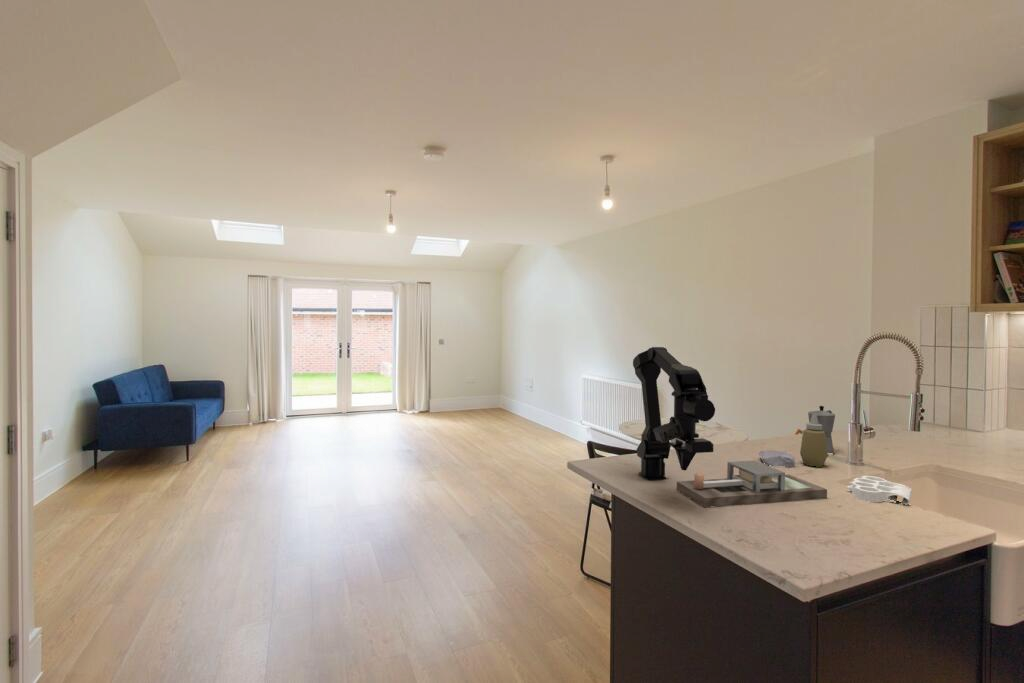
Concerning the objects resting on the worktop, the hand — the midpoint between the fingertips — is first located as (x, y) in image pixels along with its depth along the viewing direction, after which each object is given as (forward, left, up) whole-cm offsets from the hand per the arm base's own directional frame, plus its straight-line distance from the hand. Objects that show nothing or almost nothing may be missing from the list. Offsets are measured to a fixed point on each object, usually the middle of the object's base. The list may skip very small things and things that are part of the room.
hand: (683, 470), depth 134 cm
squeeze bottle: (+63, +22, -8) cm, 67 cm away
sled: (+15, 0, -5) cm, 16 cm away
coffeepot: (+81, +37, -8) cm, 89 cm away
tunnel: (+22, 0, -5) cm, 23 cm away
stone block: (+52, +27, -9) cm, 60 cm away
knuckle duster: (+57, -7, -9) cm, 58 cm away
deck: (+21, 0, -8) cm, 22 cm away
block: (+22, 0, -6) cm, 23 cm away
